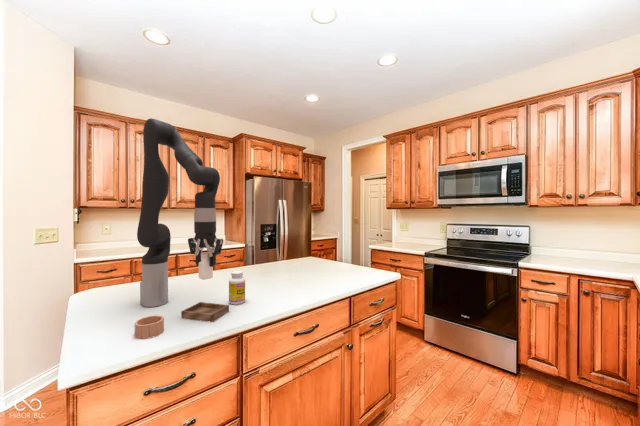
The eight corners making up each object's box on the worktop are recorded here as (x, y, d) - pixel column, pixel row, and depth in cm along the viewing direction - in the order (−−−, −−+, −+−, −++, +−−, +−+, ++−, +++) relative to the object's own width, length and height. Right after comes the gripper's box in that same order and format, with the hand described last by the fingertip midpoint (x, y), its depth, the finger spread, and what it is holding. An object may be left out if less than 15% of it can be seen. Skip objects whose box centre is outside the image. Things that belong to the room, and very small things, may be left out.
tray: (181, 318, 98) (181, 311, 98) (199, 308, 107) (199, 302, 107) (212, 322, 94) (212, 315, 94) (228, 311, 104) (228, 305, 104)
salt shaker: (202, 280, 98) (202, 254, 98) (198, 278, 101) (197, 253, 100) (213, 278, 101) (213, 252, 101) (208, 276, 103) (208, 251, 103)
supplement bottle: (236, 306, 110) (236, 274, 110) (225, 303, 113) (225, 272, 113) (248, 301, 116) (248, 271, 115) (237, 298, 119) (237, 269, 119)
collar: (128, 336, 84) (128, 324, 83) (150, 326, 91) (149, 314, 91) (149, 339, 82) (149, 326, 82) (169, 328, 89) (169, 316, 89)
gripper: (228, 220, 102) (228, 264, 103) (195, 219, 106) (196, 262, 106) (216, 221, 95) (216, 269, 95) (181, 220, 98) (181, 267, 99)
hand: (205, 265), depth 101 cm, fingers closed on salt shaker, 5 cm apart
